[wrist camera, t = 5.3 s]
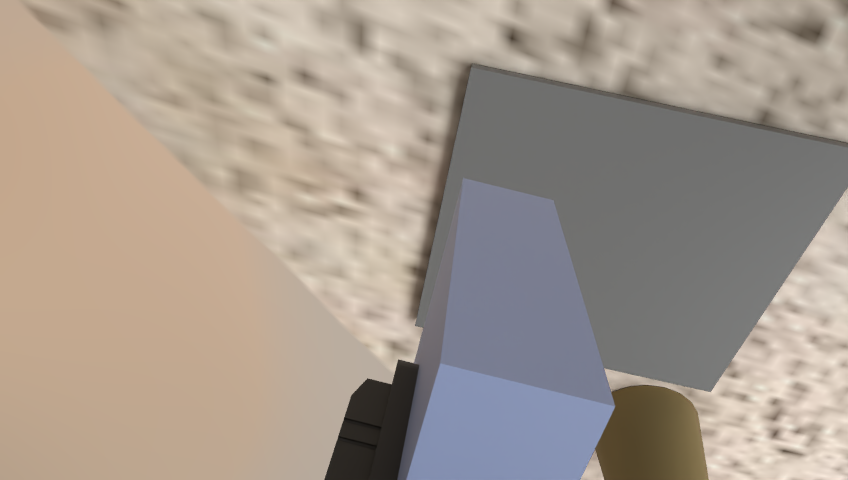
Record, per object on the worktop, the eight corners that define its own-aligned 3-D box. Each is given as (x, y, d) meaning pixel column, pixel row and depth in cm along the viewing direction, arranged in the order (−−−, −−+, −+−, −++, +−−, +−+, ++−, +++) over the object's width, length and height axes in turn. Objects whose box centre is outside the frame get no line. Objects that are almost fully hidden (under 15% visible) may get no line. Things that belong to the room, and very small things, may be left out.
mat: (862, 146, 22) (870, 152, 22) (707, 383, 30) (710, 391, 30) (471, 63, 23) (470, 67, 22) (416, 318, 31) (415, 326, 30)
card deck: (553, 200, 12) (615, 406, 6) (453, 487, 16) (434, 782, 10) (463, 178, 12) (440, 362, 6) (385, 471, 16) (325, 756, 10)
